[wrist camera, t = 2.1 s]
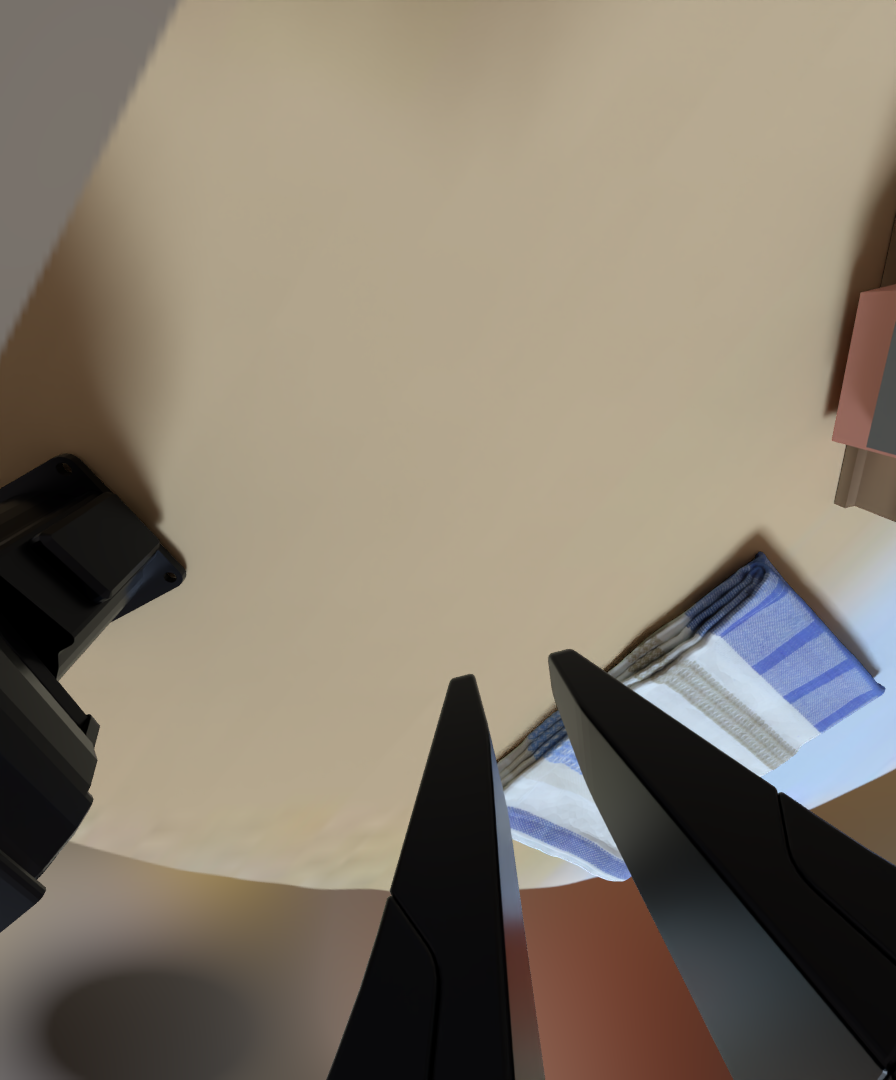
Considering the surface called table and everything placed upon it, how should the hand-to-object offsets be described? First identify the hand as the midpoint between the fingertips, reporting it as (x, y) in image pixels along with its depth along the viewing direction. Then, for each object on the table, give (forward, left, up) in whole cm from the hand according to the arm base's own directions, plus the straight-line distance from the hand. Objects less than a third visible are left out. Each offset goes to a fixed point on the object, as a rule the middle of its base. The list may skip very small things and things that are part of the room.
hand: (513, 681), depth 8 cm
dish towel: (+5, -24, -14) cm, 28 cm away
